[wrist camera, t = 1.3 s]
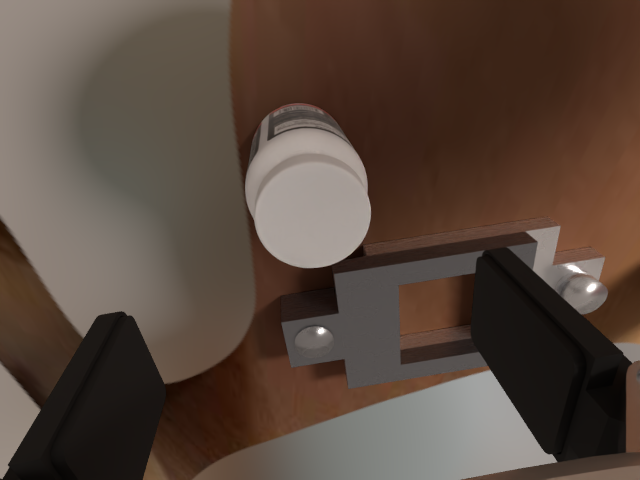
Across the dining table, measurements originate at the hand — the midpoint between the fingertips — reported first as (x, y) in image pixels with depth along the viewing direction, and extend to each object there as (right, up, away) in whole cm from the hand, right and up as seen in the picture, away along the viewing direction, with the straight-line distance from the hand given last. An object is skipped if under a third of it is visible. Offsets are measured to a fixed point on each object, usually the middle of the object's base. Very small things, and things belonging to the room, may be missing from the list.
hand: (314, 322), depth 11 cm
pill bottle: (-1, +8, +14) cm, 16 cm away
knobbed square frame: (+9, -2, +20) cm, 22 cm away
